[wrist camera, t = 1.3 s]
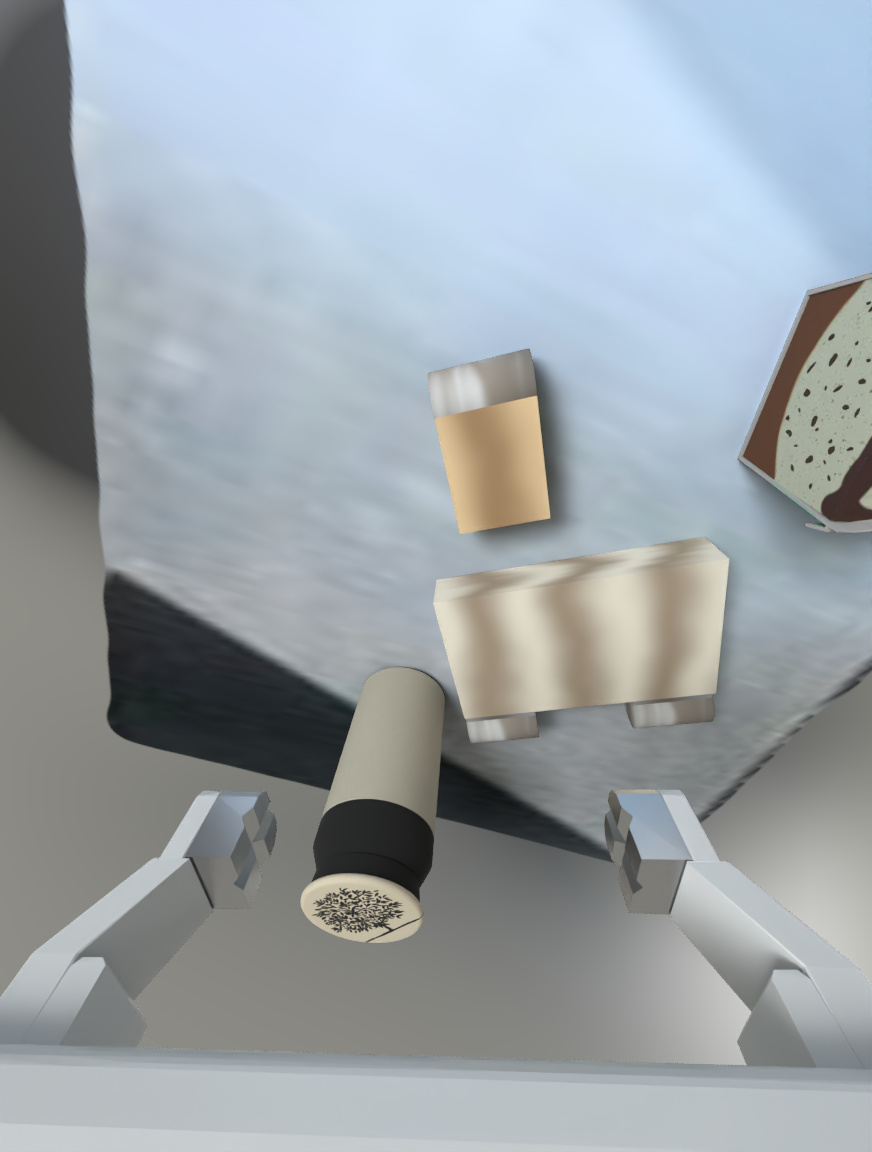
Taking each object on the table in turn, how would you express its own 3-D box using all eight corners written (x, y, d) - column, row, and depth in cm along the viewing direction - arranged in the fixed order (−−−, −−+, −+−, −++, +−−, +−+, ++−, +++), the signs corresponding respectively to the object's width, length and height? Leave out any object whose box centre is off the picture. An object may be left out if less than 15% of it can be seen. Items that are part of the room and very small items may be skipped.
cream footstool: (705, 536, 32) (730, 559, 29) (694, 698, 39) (713, 730, 36) (436, 579, 35) (433, 604, 32) (473, 721, 43) (473, 751, 40)
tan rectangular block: (525, 347, 27) (532, 349, 24) (543, 500, 32) (550, 518, 29) (430, 370, 28) (425, 376, 25) (461, 515, 33) (459, 534, 30)
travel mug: (345, 688, 42) (268, 901, 26) (408, 650, 39) (364, 864, 24) (399, 736, 45) (358, 955, 29) (462, 704, 42) (454, 928, 26)
